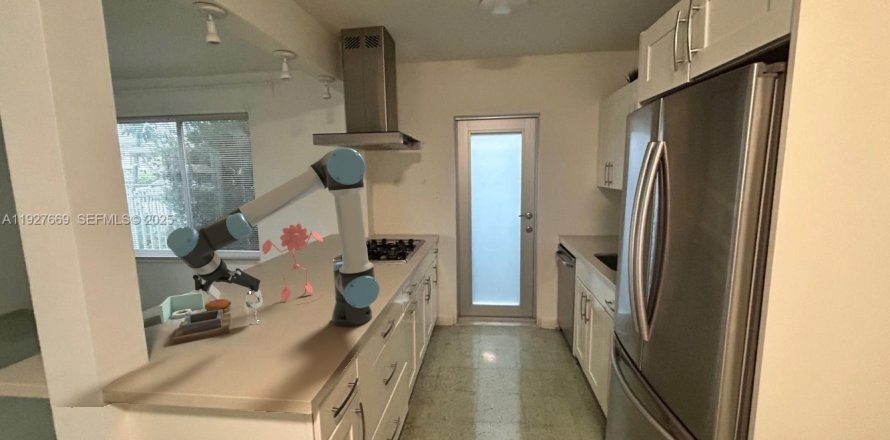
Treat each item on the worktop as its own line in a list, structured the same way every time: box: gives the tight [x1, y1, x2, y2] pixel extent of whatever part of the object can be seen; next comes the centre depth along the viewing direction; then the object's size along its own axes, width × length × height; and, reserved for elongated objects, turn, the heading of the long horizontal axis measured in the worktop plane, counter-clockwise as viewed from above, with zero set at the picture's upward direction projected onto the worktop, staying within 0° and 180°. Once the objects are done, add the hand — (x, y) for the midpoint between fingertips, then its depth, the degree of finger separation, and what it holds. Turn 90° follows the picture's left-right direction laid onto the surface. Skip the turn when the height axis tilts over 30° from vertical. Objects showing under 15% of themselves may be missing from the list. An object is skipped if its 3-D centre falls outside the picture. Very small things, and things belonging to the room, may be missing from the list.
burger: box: [204, 298, 232, 314], centre depth 148 cm, size 10×9×5 cm
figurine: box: [261, 222, 325, 306], centre depth 157 cm, size 15×26×35 cm, turn 131°
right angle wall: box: [158, 291, 205, 324], centre depth 145 cm, size 12×12×8 cm
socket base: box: [173, 309, 232, 345], centre depth 130 cm, size 16×16×5 cm
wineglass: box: [245, 291, 264, 326], centre depth 135 cm, size 6×6×12 cm
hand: (238, 295), depth 123 cm, fingers open, 13 cm apart
